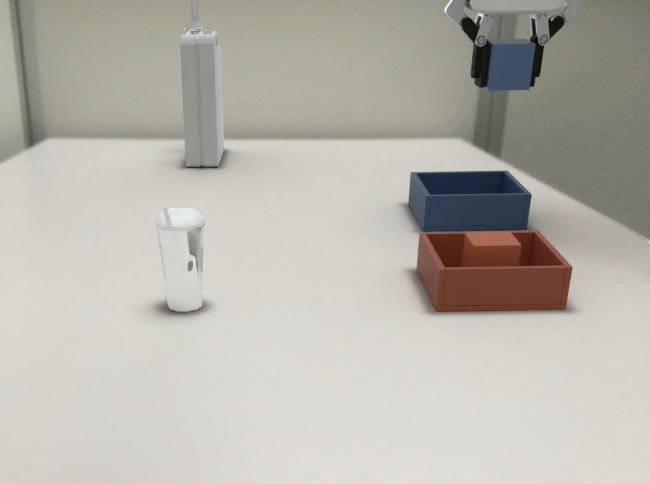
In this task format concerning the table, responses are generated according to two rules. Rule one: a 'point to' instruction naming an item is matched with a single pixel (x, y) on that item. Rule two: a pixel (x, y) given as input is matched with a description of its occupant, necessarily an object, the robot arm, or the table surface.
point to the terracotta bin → (493, 275)
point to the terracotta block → (490, 249)
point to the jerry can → (201, 94)
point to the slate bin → (468, 200)
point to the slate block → (510, 64)
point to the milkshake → (182, 256)
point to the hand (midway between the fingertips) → (503, 83)
